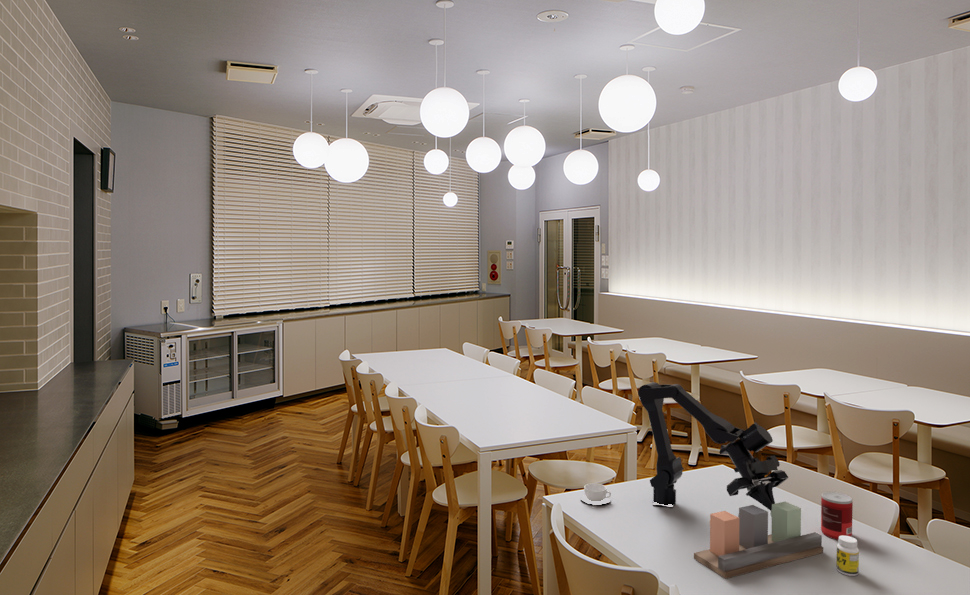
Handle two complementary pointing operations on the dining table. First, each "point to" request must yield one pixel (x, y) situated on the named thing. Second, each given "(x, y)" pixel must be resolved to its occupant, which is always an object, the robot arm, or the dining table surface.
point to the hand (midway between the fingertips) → (774, 511)
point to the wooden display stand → (761, 555)
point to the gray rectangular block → (753, 526)
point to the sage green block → (785, 521)
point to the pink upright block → (724, 533)
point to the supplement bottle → (847, 556)
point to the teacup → (596, 492)
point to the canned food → (836, 514)
